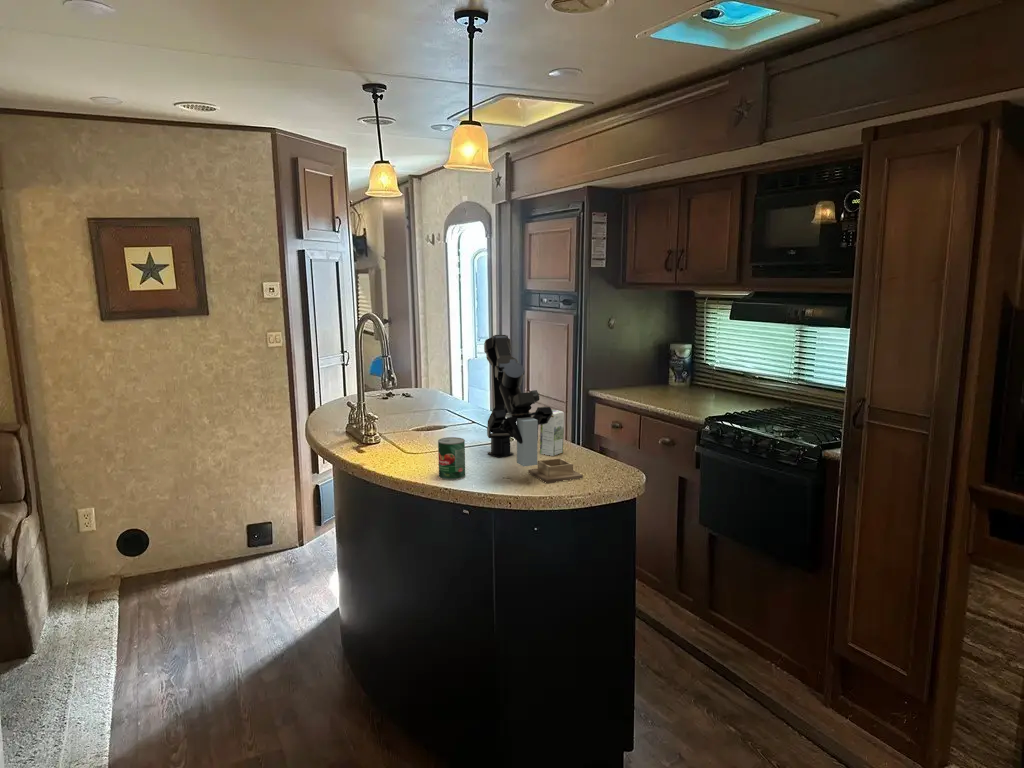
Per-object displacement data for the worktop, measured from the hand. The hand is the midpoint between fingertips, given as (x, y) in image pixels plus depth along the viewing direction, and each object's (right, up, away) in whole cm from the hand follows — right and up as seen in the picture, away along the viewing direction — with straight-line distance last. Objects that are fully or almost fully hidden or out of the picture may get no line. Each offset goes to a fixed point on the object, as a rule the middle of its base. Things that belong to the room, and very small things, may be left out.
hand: (529, 442), depth 193 cm
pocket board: (+8, -11, +10) cm, 17 cm away
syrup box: (+9, -7, +36) cm, 38 cm away
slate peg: (-1, -6, +2) cm, 7 cm away
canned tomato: (-23, -11, +10) cm, 27 cm away
